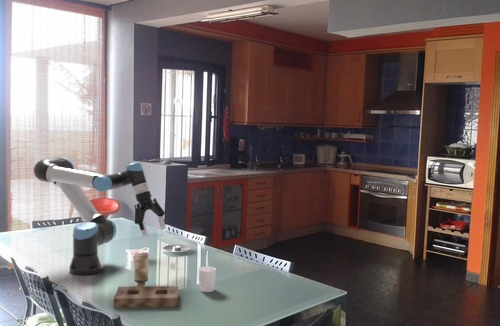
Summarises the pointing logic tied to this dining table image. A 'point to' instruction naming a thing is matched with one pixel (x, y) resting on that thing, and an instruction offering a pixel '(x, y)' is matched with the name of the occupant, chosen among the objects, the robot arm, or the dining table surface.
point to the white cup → (207, 278)
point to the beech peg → (141, 269)
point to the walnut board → (146, 296)
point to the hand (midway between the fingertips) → (154, 232)
